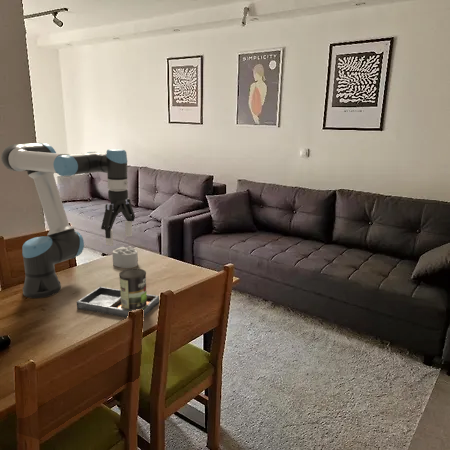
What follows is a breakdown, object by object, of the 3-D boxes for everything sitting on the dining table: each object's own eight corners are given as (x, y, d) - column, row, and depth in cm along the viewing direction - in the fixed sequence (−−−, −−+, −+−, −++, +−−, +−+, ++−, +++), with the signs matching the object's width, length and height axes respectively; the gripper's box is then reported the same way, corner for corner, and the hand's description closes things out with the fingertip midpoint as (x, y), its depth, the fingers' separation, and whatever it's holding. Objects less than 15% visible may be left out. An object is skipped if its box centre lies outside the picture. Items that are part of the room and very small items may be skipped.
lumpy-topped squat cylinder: (124, 259, 210) (123, 243, 208) (142, 263, 204) (142, 247, 202) (110, 264, 201) (109, 249, 199) (129, 269, 195) (128, 253, 193)
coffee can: (151, 301, 159) (150, 269, 156) (140, 313, 149) (139, 279, 146) (128, 298, 161) (126, 267, 158) (116, 309, 152) (114, 276, 148)
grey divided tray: (77, 308, 154) (76, 301, 153) (100, 292, 169) (100, 286, 168) (140, 320, 146) (140, 313, 145) (159, 302, 160) (159, 296, 160)
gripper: (107, 195, 139) (109, 251, 145) (142, 185, 162) (143, 233, 168) (89, 193, 141) (92, 248, 147) (127, 183, 164) (128, 231, 170)
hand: (119, 240), depth 158 cm, fingers open, 13 cm apart
